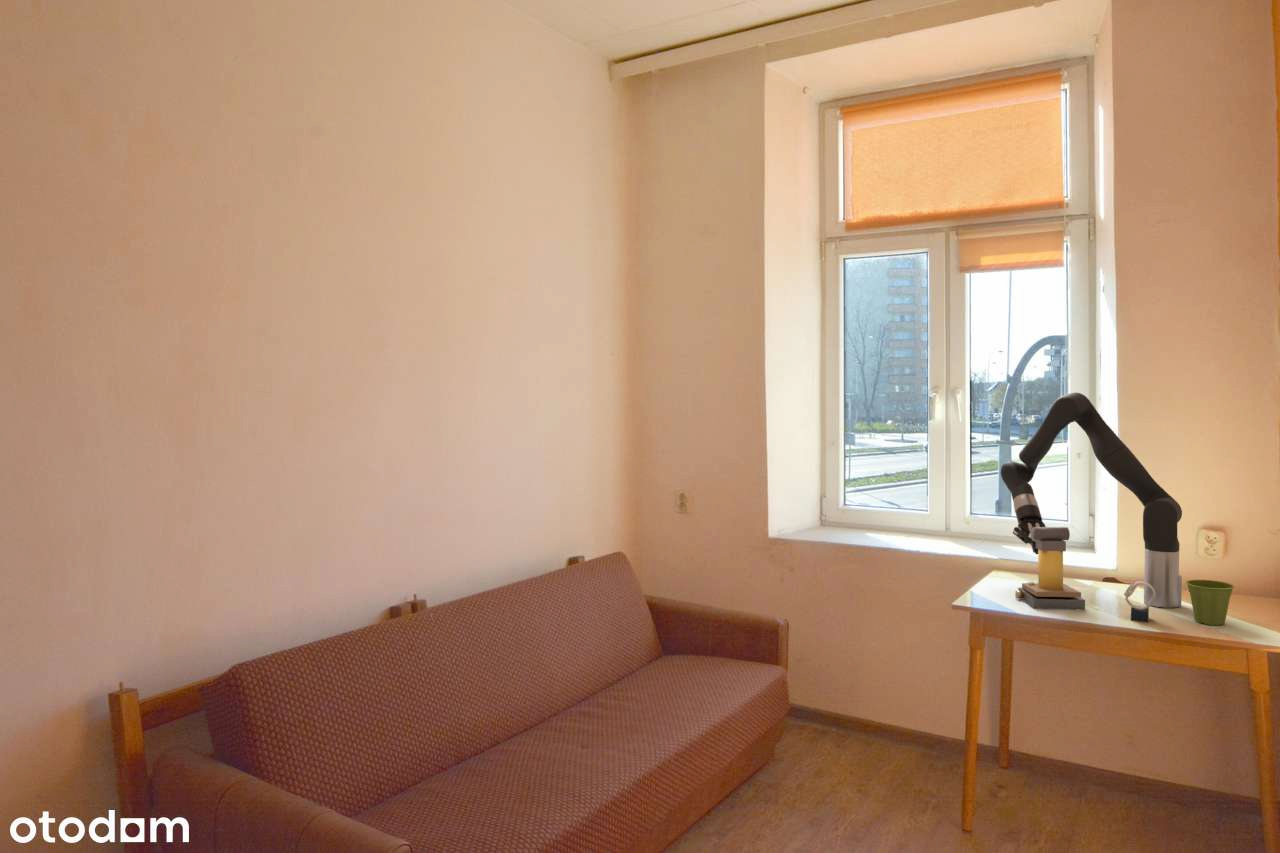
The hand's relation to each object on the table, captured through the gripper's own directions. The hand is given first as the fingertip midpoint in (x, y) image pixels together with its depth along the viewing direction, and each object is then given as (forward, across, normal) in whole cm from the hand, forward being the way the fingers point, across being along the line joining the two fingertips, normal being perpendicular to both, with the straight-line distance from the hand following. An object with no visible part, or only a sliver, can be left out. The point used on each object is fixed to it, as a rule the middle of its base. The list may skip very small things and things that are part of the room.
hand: (1038, 552), depth 279 cm
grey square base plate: (+17, 0, +2) cm, 18 cm away
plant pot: (+31, +37, -12) cm, 50 cm away
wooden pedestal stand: (+15, 0, 0) cm, 15 cm away
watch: (+30, +19, -10) cm, 37 cm away
